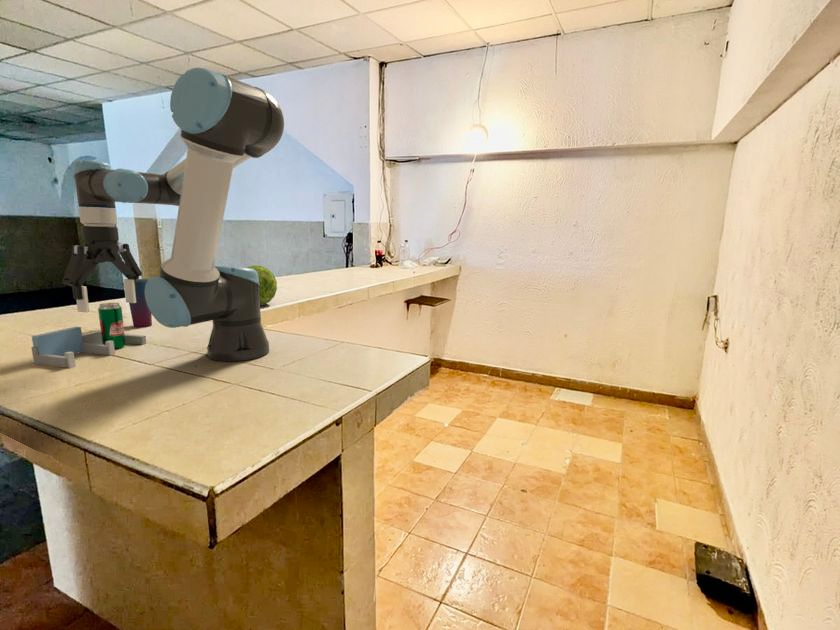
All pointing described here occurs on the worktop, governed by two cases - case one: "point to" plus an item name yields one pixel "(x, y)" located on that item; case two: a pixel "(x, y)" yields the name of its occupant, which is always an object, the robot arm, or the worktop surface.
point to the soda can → (112, 324)
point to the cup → (140, 306)
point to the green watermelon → (265, 284)
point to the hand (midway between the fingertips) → (108, 307)
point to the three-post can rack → (73, 346)
